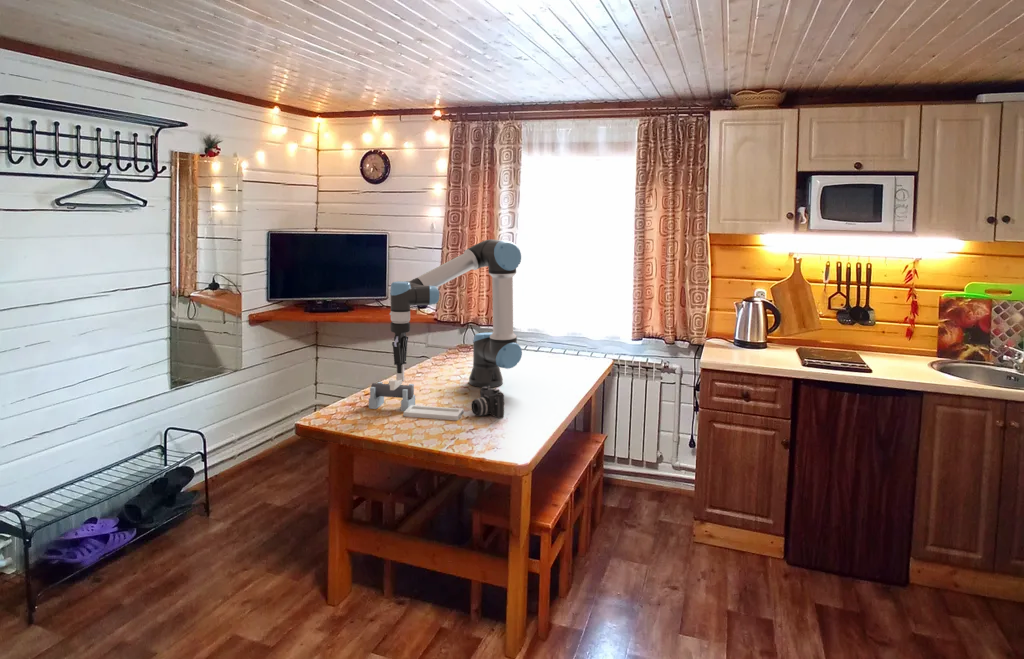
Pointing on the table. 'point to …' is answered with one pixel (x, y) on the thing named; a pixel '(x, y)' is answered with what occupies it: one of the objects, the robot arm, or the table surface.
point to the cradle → (379, 400)
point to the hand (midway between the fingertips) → (400, 380)
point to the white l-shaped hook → (395, 383)
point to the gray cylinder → (386, 392)
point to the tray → (433, 412)
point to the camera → (489, 402)
